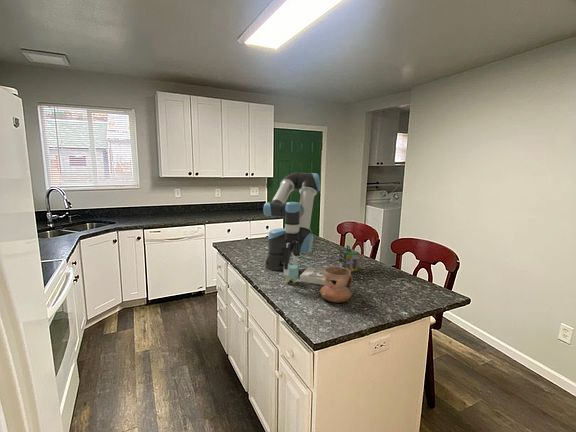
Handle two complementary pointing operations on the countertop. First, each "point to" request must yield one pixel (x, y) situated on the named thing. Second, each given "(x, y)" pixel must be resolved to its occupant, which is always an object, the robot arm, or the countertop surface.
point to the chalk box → (349, 259)
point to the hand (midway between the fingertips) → (290, 271)
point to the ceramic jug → (336, 284)
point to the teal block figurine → (292, 273)
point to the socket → (313, 276)
